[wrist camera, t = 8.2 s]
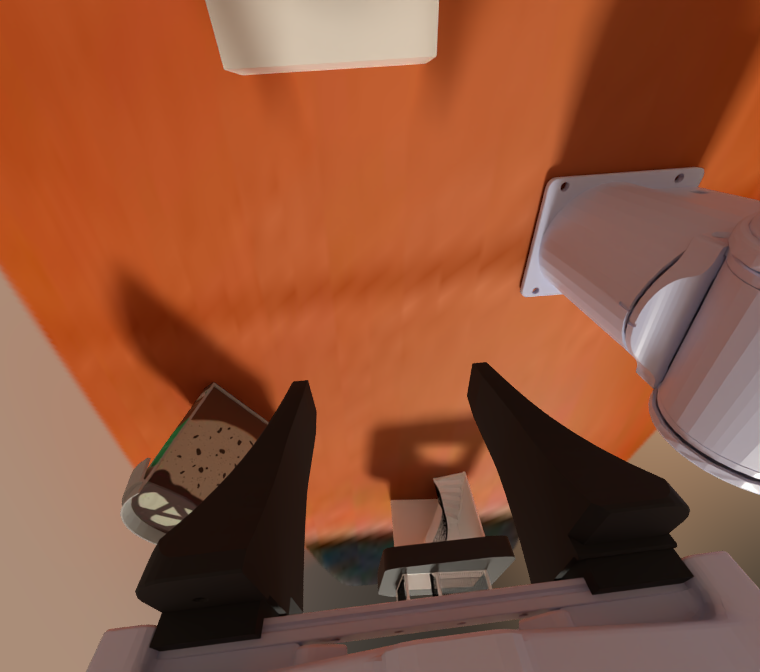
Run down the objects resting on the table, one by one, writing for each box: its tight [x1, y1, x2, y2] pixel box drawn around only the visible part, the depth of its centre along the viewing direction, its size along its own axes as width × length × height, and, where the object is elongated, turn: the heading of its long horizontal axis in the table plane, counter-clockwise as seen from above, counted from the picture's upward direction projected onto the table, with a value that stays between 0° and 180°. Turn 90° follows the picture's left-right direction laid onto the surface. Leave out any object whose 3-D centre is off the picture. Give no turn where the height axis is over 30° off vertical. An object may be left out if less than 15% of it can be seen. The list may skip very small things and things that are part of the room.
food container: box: [121, 382, 269, 545], centre depth 26 cm, size 12×6×10 cm, turn 31°
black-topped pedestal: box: [377, 472, 515, 601], centre depth 35 cm, size 28×26×13 cm
